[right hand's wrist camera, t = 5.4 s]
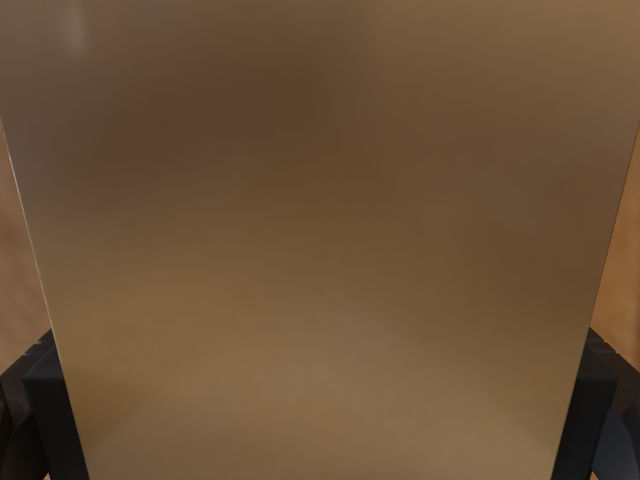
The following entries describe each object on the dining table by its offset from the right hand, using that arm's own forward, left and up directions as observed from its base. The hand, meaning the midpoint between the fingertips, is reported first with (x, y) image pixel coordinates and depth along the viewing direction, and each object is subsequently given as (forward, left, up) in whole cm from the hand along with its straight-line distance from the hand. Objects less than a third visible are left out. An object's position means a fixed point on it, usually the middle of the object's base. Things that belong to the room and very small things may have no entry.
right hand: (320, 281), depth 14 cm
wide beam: (+2, -19, 0) cm, 19 cm away
